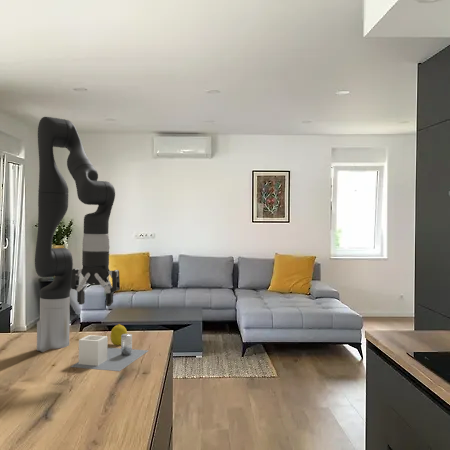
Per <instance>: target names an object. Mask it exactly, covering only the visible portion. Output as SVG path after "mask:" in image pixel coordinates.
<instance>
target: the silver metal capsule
mask: <svg viewBox="0 0 450 450" xmlns="http://www.w3.org/2000/svg"><path fill="white" fill-rule="evenodd" d="M120 346H121V347H120V348H121V355H122V356H129V355H132V349H133V334H131V333H127V334H122V335H121V345H120Z"/></svg>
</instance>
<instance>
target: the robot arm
mask: <svg viewBox="0 0 450 450" xmlns="http://www.w3.org/2000/svg"><path fill="white" fill-rule="evenodd" d="M54 148H61V149H63V148H65V149H66V150H68V151H69V155H68V156H67V159H66V167H67V170H68V172H69V174H70V175H71V177H72V178H73V180H74V183H75V187H76V194H77V198H78V199H79V201H80V202H81V203H82V204H85V205H89V206H92V205H93V206H97V209H96V210H95V211H94V212H90V213H86V214H85V215H84V217H83V236H82V250H81V251H82V252H81V253H82V255H81V257H82V259H81V261H82V263H81V264H82V268H79V267H77V268H73V265H74V263H73V254H72V253H71V251H70V249H68V248H65V247H55V248H54V247H53V246H52V245H53V240H54V239H53V238H54V235H55V231H57V228H58V227H59V225H60V223H61V222H62V221H63V219H64V217H65V215H66V214H67V211H68V208H69V186H68V184H67V182H66V179H65V178H64V176H63V174H62V172H61V171H60V169H59V168H58V166H57V163H56V160H55V156H54V154H55V153H54ZM37 149H38V167H39V170H38V171H39V172H38V176H39V177H38V190H37V191H38V196H37V197H38V199H37V200H38V201H37V208H38V211H37V212H38V215H37V220H38V222H37V236H36V244H35V250H34V251H35V253H34V268H35V272H36V274H37V276H39V278H52V277H54V278H53V281H52V282H50V283H49V284H48V285H45V286H44V287H42V288H41V289H40V291H39V320H37V321H36V351H39V352H41V353H44V352H47V351H49V350H57V349H63V348H67V347H69V346H70V324H71V323H70V316H71V315H70V312H71V311H70V310H71V309H70V306H71V305H70V304H71V302H70V301H71V297H70V296H71V294H70V293H71V290H75V291H76V296H77V298H76V299H77V301H76V302H77V303H78V305H84V304H85V295H86V294H85V293H86V292H85V289H86V288H87V287H88V286H89V285H96V286H97V285H98V286H99V285H101V287H102V288H104V290H105V292H106V293H105V306H106V307H110V306H112V304H113V303H114V293H115V292H117V291H120V289H121V284H120V270H119V269H115V270H110V269H109V267H110V266H109V265H110V239H109V238H110V237H109V222H110V216H111V212H112V208H113V205H114V202H115V198H116V189H115V187H114V185H113V184H112V183H111V182H110V181H107V180H103V181H102V180H98V179H99V174H98V171H97V169H96V168H95V166H94V164H93V163H92V162H91V160H90V158H89V157H88V155H87V154H86V151H85V148H84V145H83V142H82V139H81V136H80V135H79V133H78V130H77V127H76V126H75V124H74V123H73V122H72V121H71V120H69V119H65V118H59V117H58V118H57V117H52V116H42V117H41V118H40V120H39V122H38V124H37ZM81 275H82V276H83V279H81V281H80V276H81ZM109 276H110V278H111V281H110V280H109V278H108V277H109Z"/></svg>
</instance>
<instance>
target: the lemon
mask: <svg viewBox="0 0 450 450" xmlns="http://www.w3.org/2000/svg"><path fill="white" fill-rule="evenodd" d="M122 334H128V331H127V328H126V327H125V326H124V325H122V324H120V323H118V324H117V325H115V326H114V327H112V329H111V331H110V341H111V343H112V344H113V345H114V346H121V335H122Z"/></svg>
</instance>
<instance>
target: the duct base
mask: <svg viewBox="0 0 450 450" xmlns="http://www.w3.org/2000/svg"><path fill="white" fill-rule="evenodd" d="M148 352H149V350H147V349H145V350H144V349H133V348H132V355H129V356H122V355H121V347H109V346H107V360H106V361H105V362H103V363H102V364H100V365H98V366H95V365H84V364H79V361H78V362H76V363H74V364H72V365H71V366H70V368H76V369H86V370H87V369H88V370H89V369H90V370H101V371H102V370H103V371H113V372H121V371H122V370H124V369H125V368H126V367H128V366H129V365H131V364H132V363H133V362H135V361H137V360H138V359H139V358H140V357H142V356H144V355H145V354H147V353H148Z"/></svg>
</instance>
